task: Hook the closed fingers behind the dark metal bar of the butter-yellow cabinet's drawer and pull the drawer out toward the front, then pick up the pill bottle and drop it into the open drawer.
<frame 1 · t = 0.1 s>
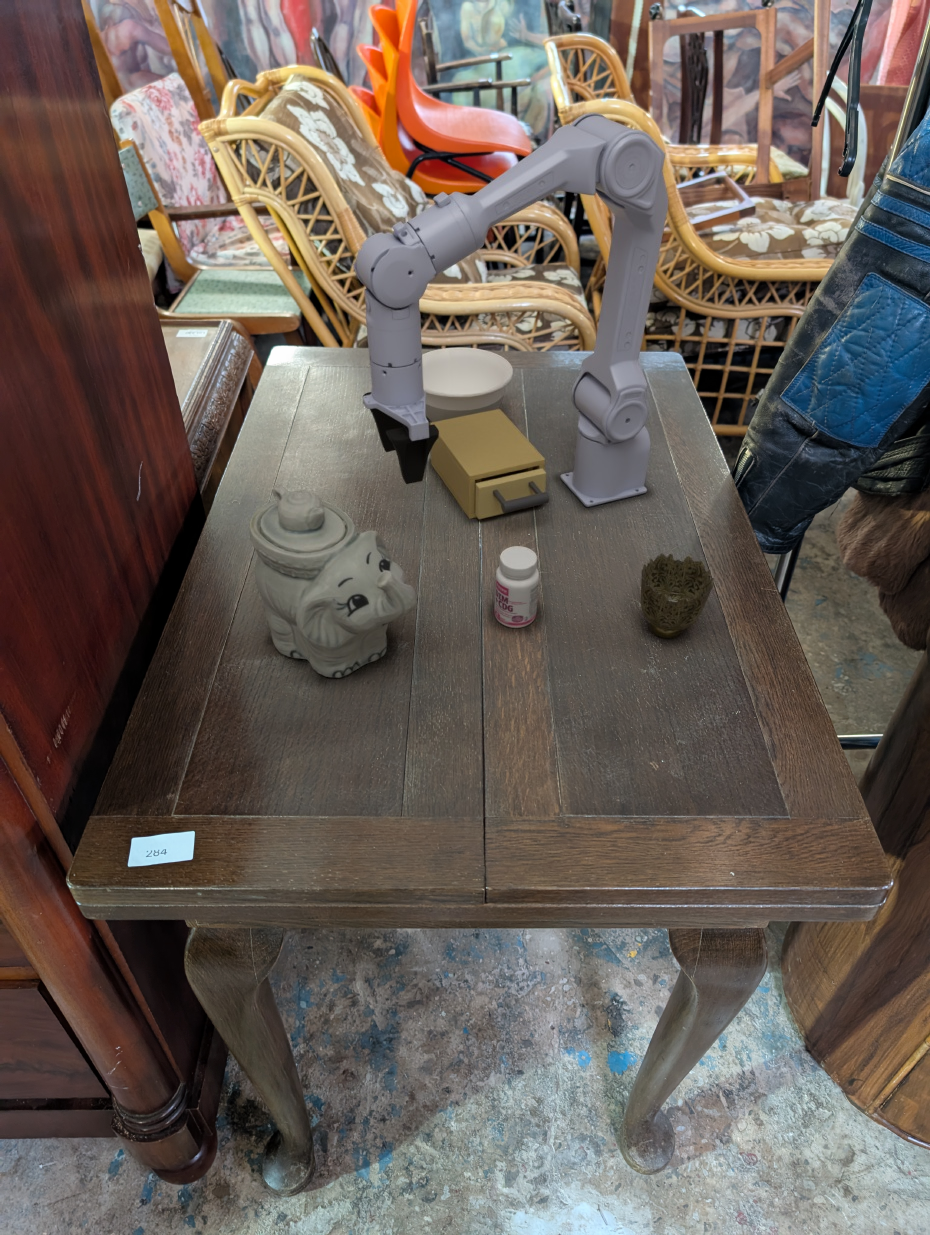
hand: (402, 464, 95), 10 cm above the table, tool pointing down, fingers open, 7 cm apart
cabinet: (484, 482, 110), on the table
drawer: (498, 478, 105), point 3 cm above the table, slide at 0.5 cm
grey elephant cookie jar: (345, 653, 86), on the table
pill bottle: (515, 616, 90), on the table
cup: (664, 630, 89), on the table
bowl: (459, 423, 123), on the table
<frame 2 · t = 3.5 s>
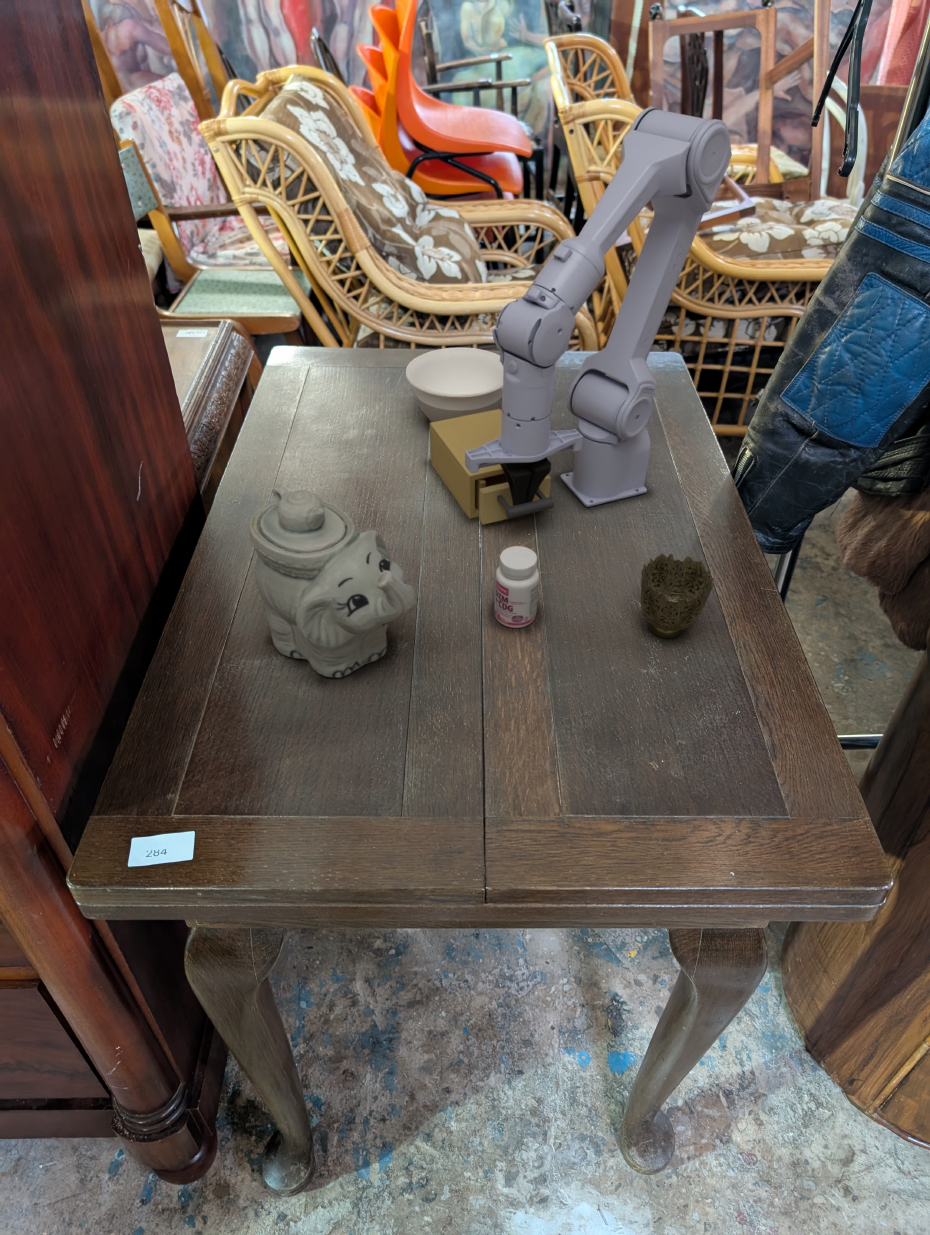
hand: (520, 508, 100), 3 cm above the table, tool pointing down, fingers closed, pressing on drawer
drawer: (502, 482, 104), point 3 cm above the table, slide at 1.8 cm, touching gripper
everything else where it was.
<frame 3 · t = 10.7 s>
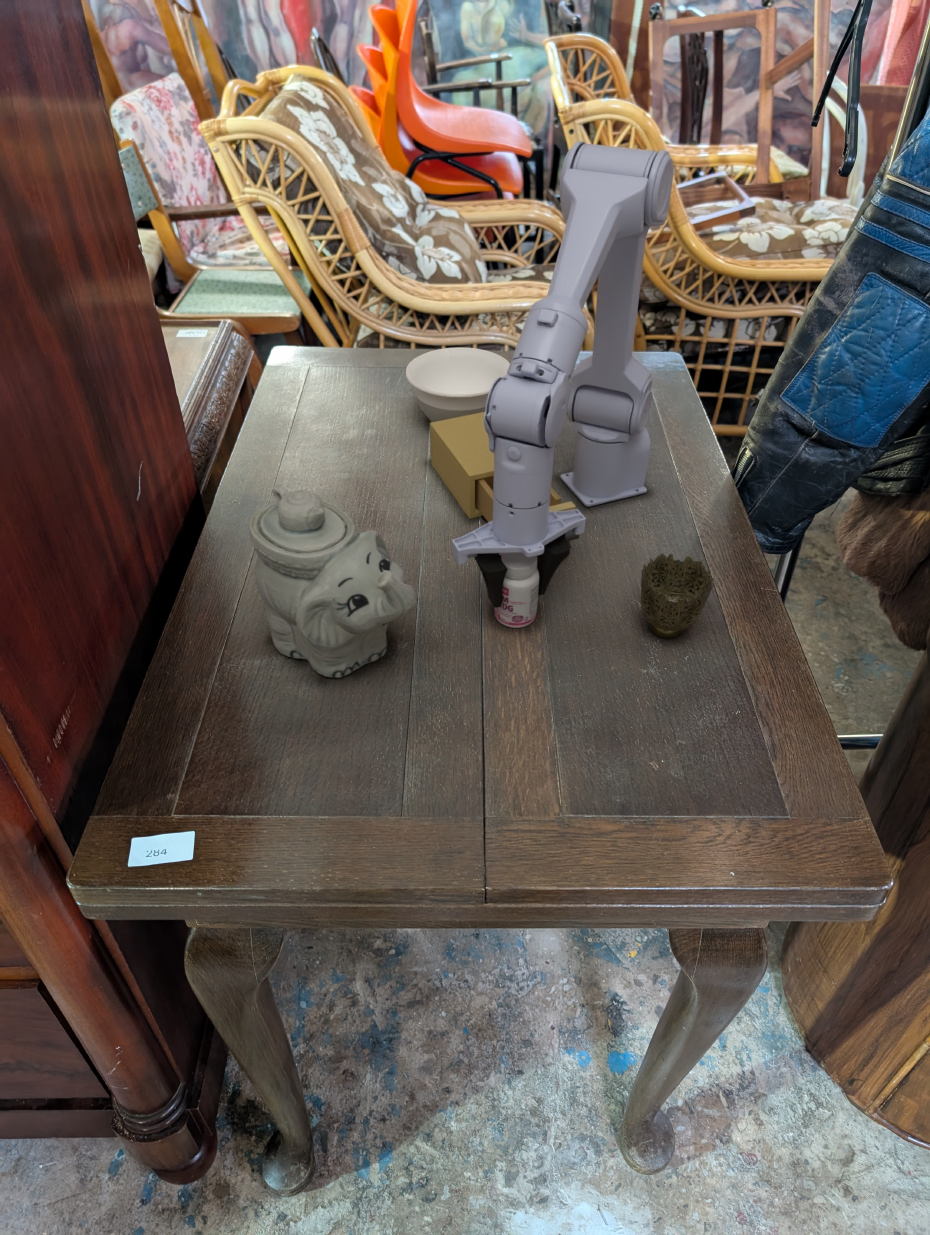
hand: (516, 595, 88), 3 cm above the table, tool pointing down, fingers closed on pill bottle, 5 cm apart
drawer: (523, 510, 100), point 3 cm above the table, slide at 8.6 cm
pill bottle: (515, 616, 90), on the table, touching gripper
everything else where it was.
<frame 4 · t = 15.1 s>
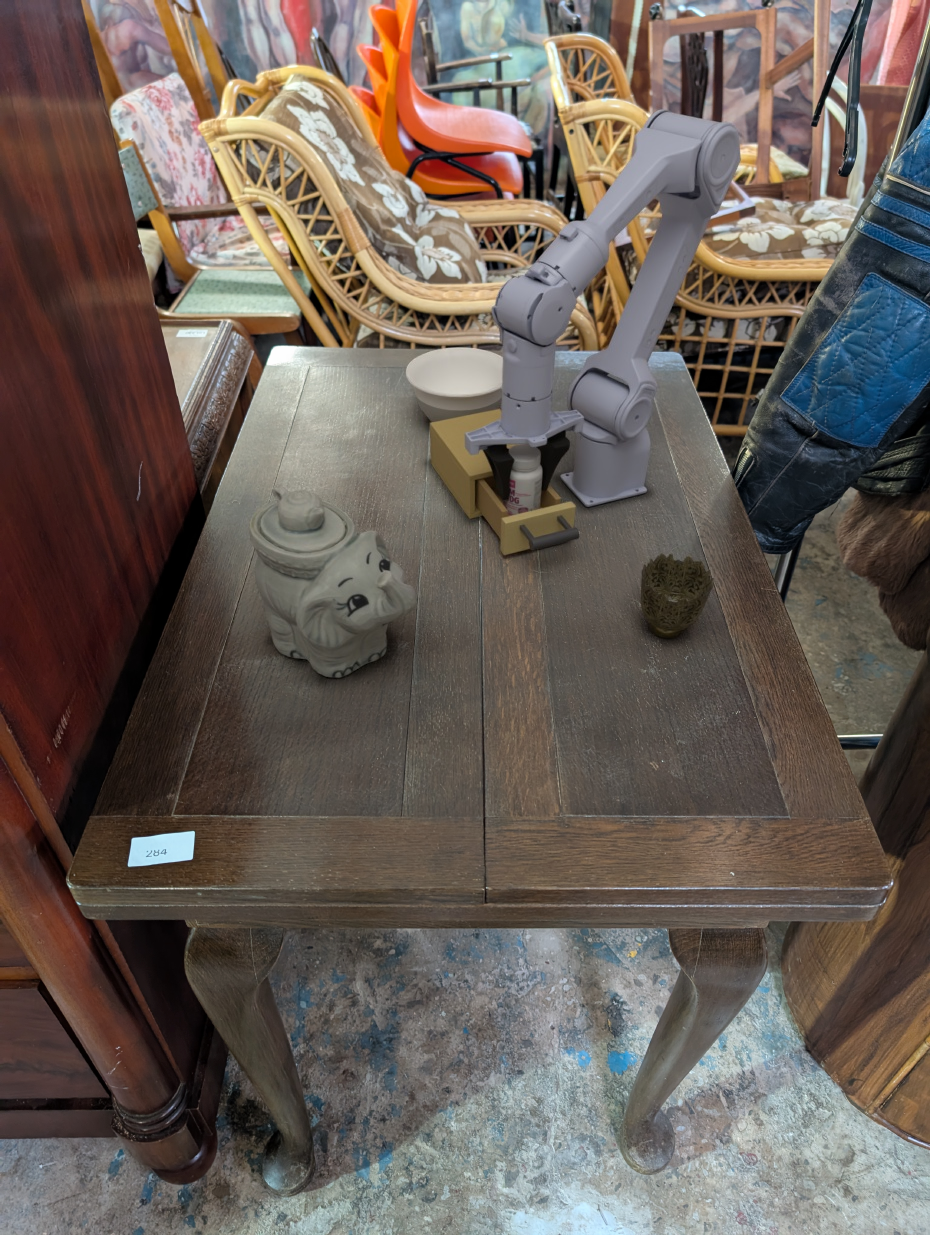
hand: (521, 491, 99), 6 cm above the table, tool pointing down, fingers closed on pill bottle, 5 cm apart
pill bottle: (520, 511, 101), point 2 cm above the table, touching gripper
everything else where it was.
when the fingers open (8 cm above the table, at t = 29.9 s): pill bottle drops 3 cm, resting on drawer.
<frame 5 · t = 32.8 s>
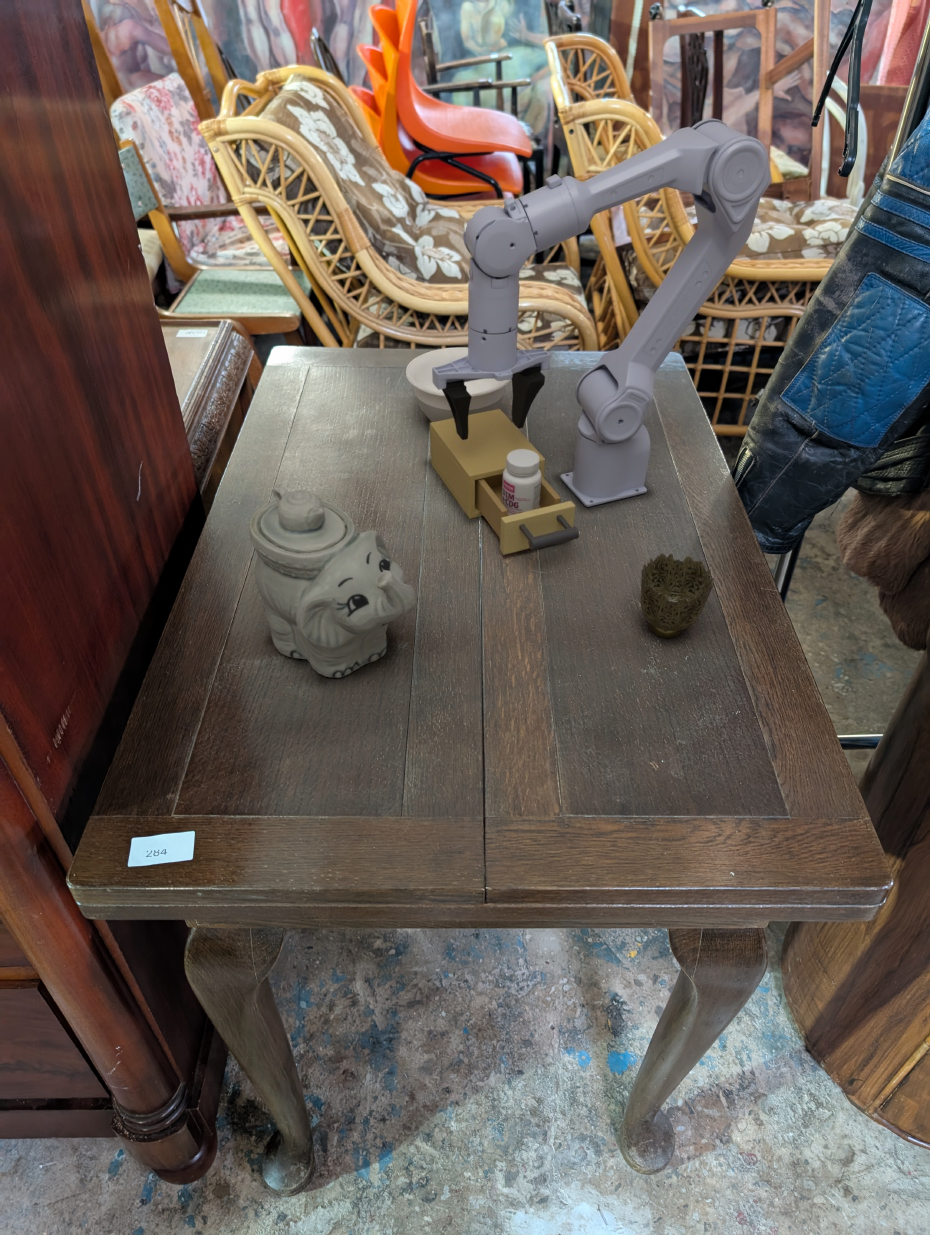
hand: (490, 430, 100), 10 cm above the table, tool pointing down, fingers open, 7 cm apart
drawer: (523, 510, 100), point 3 cm above the table, slide at 8.5 cm, touching pill bottle
pill bottle: (519, 515, 101), point 2 cm above the table, touching drawer
everything else where it was.
at the end: drawer slide at 8.5 cm; pill bottle inside the target area in the drawer (3.4 cm from its centre), point 1.8 cm above the cabinet's base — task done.
